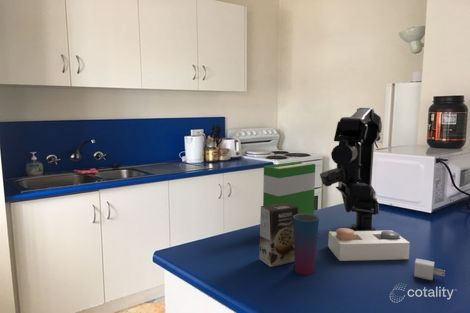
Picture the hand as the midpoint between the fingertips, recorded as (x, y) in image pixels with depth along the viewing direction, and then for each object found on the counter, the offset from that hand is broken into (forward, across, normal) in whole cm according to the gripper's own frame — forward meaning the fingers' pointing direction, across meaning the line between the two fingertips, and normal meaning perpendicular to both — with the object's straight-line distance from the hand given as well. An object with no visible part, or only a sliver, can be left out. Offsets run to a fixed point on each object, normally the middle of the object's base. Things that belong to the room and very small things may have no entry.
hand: (347, 211), depth 112 cm
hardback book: (+13, -19, -14) cm, 27 cm away
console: (+13, +1, +6) cm, 14 cm away
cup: (+13, +12, -16) cm, 23 cm away
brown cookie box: (+13, +5, -22) cm, 26 cm away
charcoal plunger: (+12, +1, +13) cm, 18 cm away
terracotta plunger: (+11, +1, -1) cm, 11 cm away
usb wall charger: (+13, +17, +16) cm, 27 cm away
